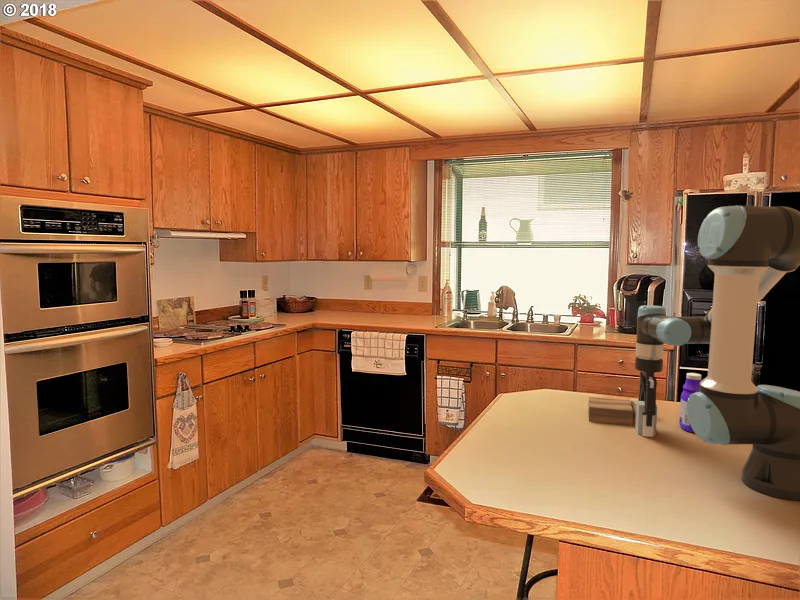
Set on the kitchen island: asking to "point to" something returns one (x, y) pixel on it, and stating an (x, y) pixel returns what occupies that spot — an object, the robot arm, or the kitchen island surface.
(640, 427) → the pale gray block
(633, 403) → the maple cube
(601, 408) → the walnut block
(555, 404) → the kitchen island surface
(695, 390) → the bottle
